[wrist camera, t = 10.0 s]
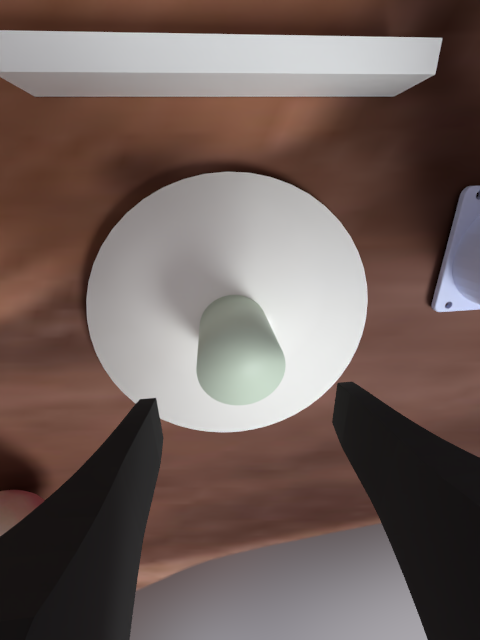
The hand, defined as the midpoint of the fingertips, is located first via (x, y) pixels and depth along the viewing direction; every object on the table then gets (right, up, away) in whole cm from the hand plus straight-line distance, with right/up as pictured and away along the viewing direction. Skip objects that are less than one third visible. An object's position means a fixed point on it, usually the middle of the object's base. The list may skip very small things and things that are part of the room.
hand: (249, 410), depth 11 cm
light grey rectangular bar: (-1, +15, +3) cm, 16 cm away
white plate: (-1, +3, +8) cm, 9 cm away
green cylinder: (-1, +3, +7) cm, 8 cm away
